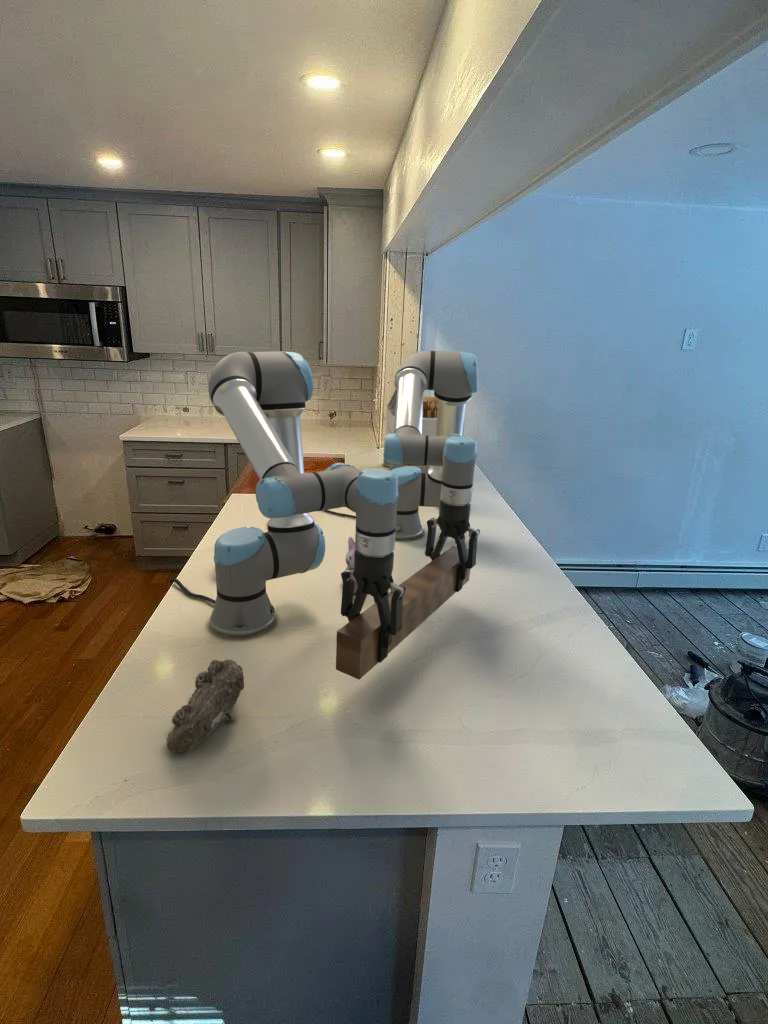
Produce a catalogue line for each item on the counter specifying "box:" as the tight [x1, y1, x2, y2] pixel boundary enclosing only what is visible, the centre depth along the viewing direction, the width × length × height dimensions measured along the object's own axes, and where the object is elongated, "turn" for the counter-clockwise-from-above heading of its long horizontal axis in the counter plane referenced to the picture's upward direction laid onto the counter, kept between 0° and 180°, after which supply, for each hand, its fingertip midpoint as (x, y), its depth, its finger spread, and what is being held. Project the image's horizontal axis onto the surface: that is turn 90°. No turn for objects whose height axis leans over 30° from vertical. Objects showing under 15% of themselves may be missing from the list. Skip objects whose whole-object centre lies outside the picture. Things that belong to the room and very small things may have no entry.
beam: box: [335, 544, 471, 680], centre depth 129 cm, size 52×6×9 cm, turn 148°
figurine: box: [344, 536, 358, 594], centre depth 158 cm, size 9×10×15 cm
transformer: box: [383, 389, 465, 471], centre depth 268 cm, size 34×33×41 cm
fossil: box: [166, 658, 245, 754], centre depth 106 cm, size 22×10×15 cm
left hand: (369, 653), depth 116 cm, fingers closed on beam, 6 cm apart
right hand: (447, 586), depth 146 cm, fingers closed on beam, 6 cm apart
